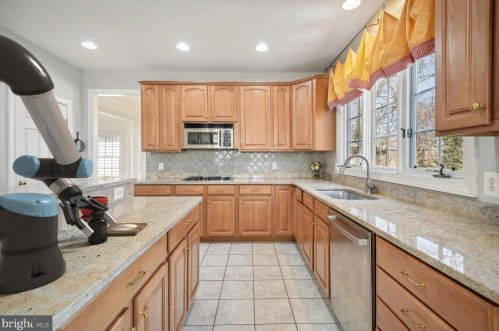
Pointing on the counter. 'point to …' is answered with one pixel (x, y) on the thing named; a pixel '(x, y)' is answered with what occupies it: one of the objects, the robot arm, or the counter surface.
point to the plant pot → (87, 212)
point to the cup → (61, 219)
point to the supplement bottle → (98, 228)
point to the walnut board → (125, 229)
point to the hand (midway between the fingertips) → (103, 229)
